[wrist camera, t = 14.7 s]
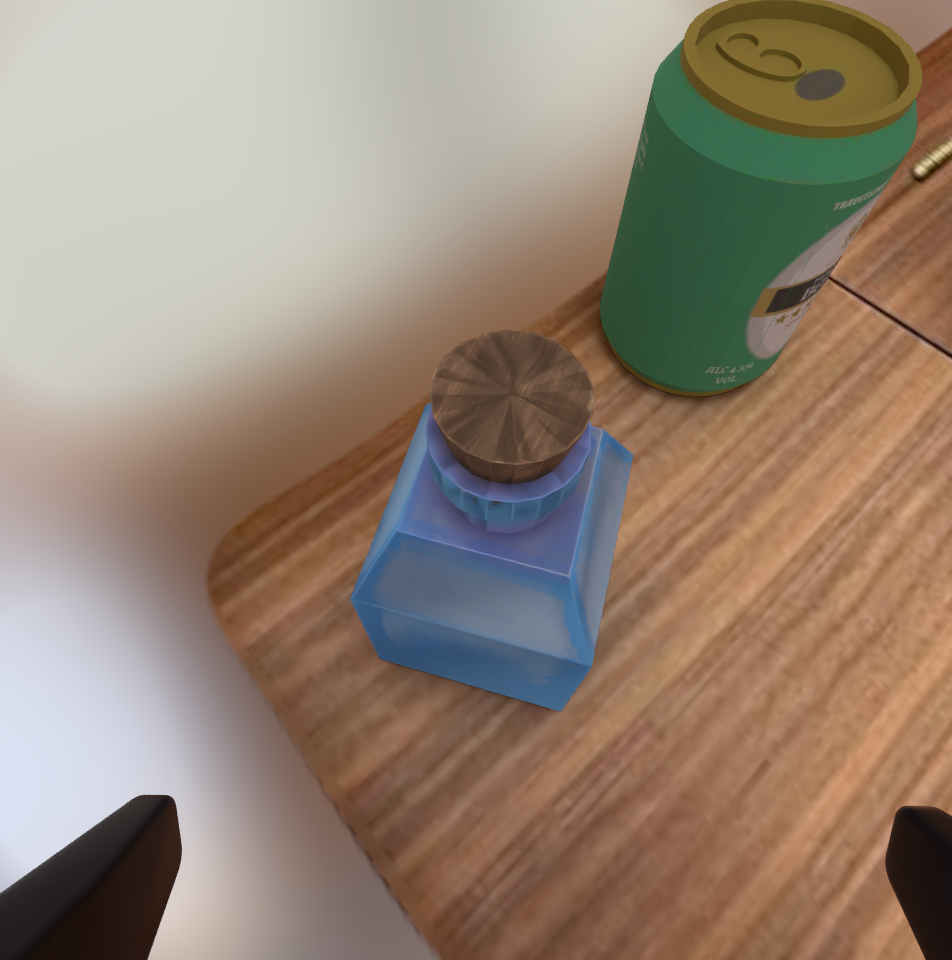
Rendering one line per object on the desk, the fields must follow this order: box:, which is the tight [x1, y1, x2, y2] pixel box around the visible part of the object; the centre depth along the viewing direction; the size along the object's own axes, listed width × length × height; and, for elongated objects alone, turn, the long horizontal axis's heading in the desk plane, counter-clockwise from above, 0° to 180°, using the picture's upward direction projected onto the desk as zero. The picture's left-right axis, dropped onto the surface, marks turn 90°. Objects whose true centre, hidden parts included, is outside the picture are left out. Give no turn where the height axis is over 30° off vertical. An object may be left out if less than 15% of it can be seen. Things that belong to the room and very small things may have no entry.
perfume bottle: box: [350, 330, 633, 712], centre depth 18 cm, size 6×6×12 cm
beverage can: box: [600, 0, 923, 396], centre depth 25 cm, size 8×8×12 cm
